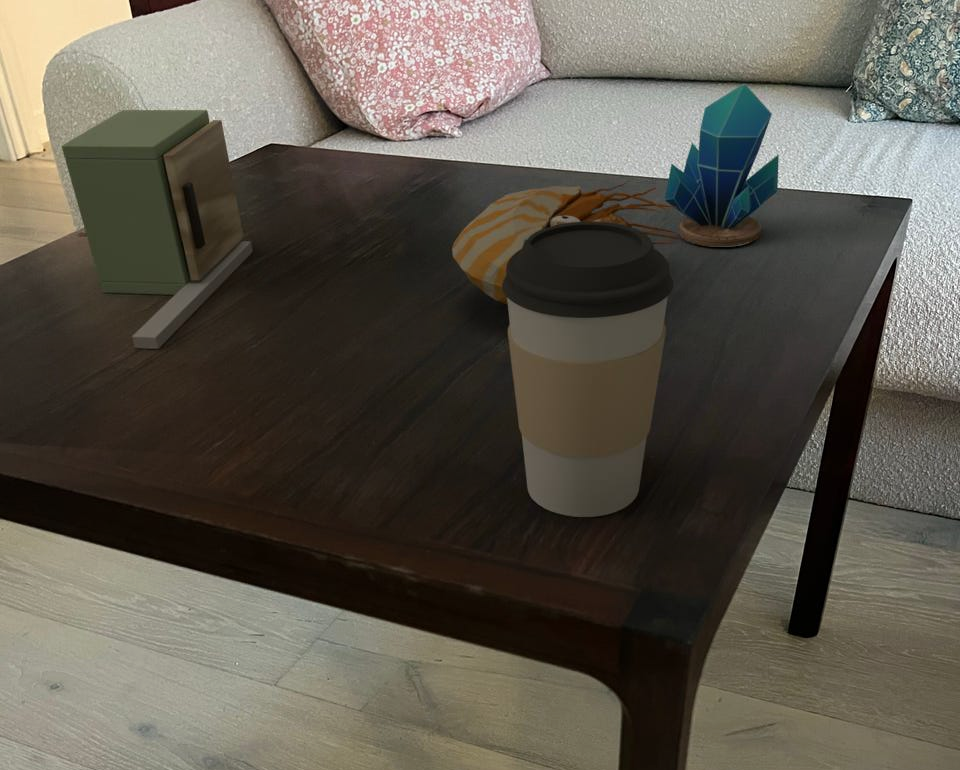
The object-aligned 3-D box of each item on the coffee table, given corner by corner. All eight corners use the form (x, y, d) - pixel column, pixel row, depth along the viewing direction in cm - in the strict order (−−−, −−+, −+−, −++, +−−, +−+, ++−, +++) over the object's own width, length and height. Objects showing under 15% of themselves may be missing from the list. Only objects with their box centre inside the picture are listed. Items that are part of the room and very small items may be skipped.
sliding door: (191, 280, 89) (162, 155, 83) (235, 237, 97) (212, 119, 90) (205, 280, 89) (178, 155, 82) (248, 237, 97) (227, 119, 90)
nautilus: (638, 244, 96) (733, 310, 85) (419, 277, 88) (495, 352, 78) (650, 152, 90) (753, 210, 80) (418, 179, 83) (499, 246, 73)
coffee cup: (620, 437, 68) (631, 197, 58) (684, 507, 61) (709, 249, 52) (488, 465, 66) (477, 221, 56) (539, 541, 59) (537, 279, 50)
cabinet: (41, 344, 83) (-11, 187, 76) (155, 247, 99) (122, 109, 92) (158, 349, 82) (117, 188, 74) (255, 250, 98) (229, 109, 90)
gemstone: (691, 215, 100) (702, 75, 92) (777, 230, 95) (797, 84, 88) (654, 240, 95) (663, 94, 87) (743, 256, 91) (761, 105, 83)
